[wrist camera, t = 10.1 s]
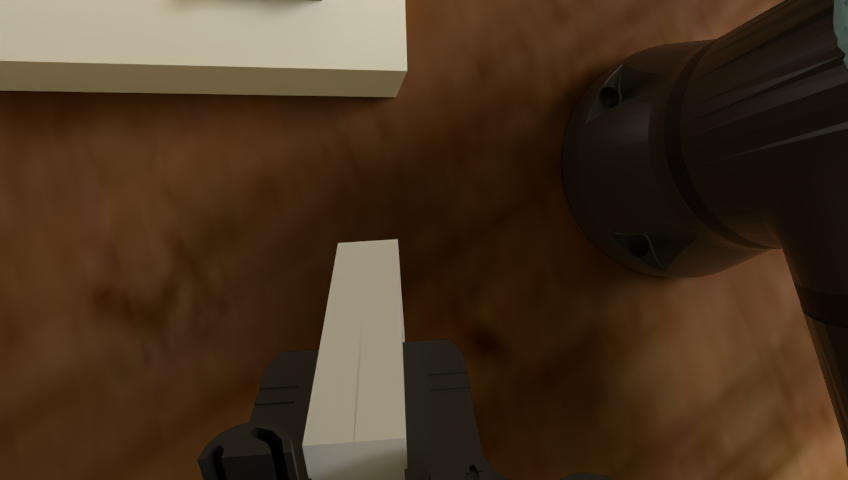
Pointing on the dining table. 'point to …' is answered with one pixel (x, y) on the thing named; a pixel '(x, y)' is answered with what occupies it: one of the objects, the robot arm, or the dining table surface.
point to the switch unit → (204, 46)
